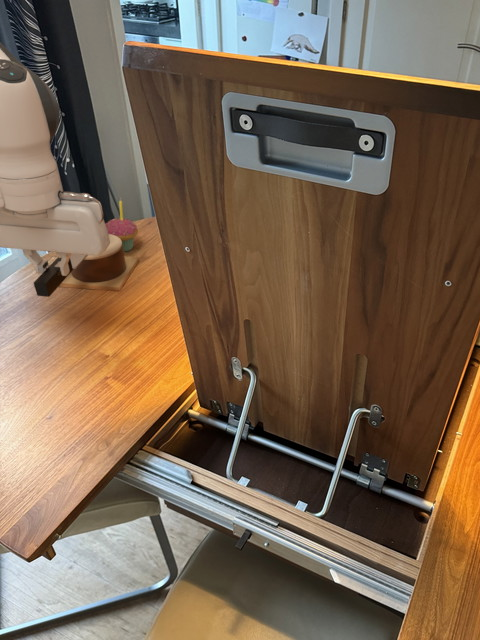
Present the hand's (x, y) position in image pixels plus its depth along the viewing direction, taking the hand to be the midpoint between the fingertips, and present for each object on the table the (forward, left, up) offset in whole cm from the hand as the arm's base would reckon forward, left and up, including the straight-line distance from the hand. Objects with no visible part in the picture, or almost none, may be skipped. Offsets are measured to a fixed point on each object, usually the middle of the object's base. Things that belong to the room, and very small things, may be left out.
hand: (53, 273), depth 85 cm
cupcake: (-5, +42, -17) cm, 45 cm away
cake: (-6, +29, -16) cm, 34 cm away
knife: (0, +5, -2) cm, 5 cm away
